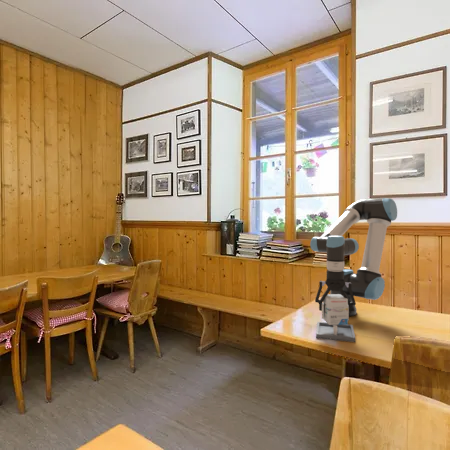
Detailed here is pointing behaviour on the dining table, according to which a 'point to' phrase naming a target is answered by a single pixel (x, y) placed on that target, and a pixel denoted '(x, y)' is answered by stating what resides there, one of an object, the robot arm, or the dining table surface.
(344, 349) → the dining table surface
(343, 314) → the ink box
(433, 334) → the dining table surface
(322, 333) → the tray
